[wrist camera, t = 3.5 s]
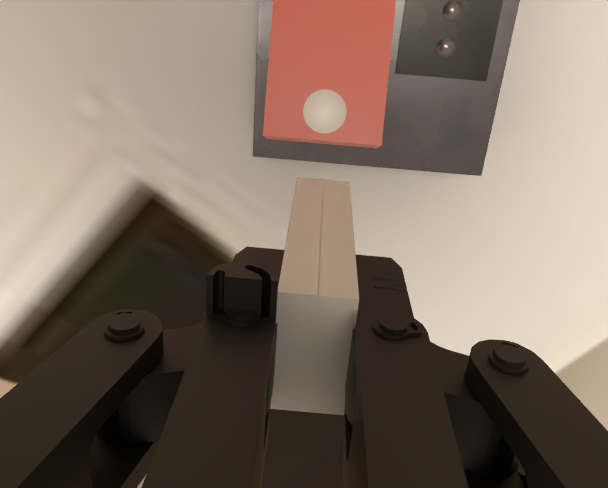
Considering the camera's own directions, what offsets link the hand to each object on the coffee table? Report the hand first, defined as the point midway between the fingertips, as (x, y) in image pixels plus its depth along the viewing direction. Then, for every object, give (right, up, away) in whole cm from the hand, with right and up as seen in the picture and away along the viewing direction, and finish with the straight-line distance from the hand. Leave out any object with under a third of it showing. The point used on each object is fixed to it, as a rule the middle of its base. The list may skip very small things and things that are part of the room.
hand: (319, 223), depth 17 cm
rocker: (+1, +9, +8) cm, 12 cm away
